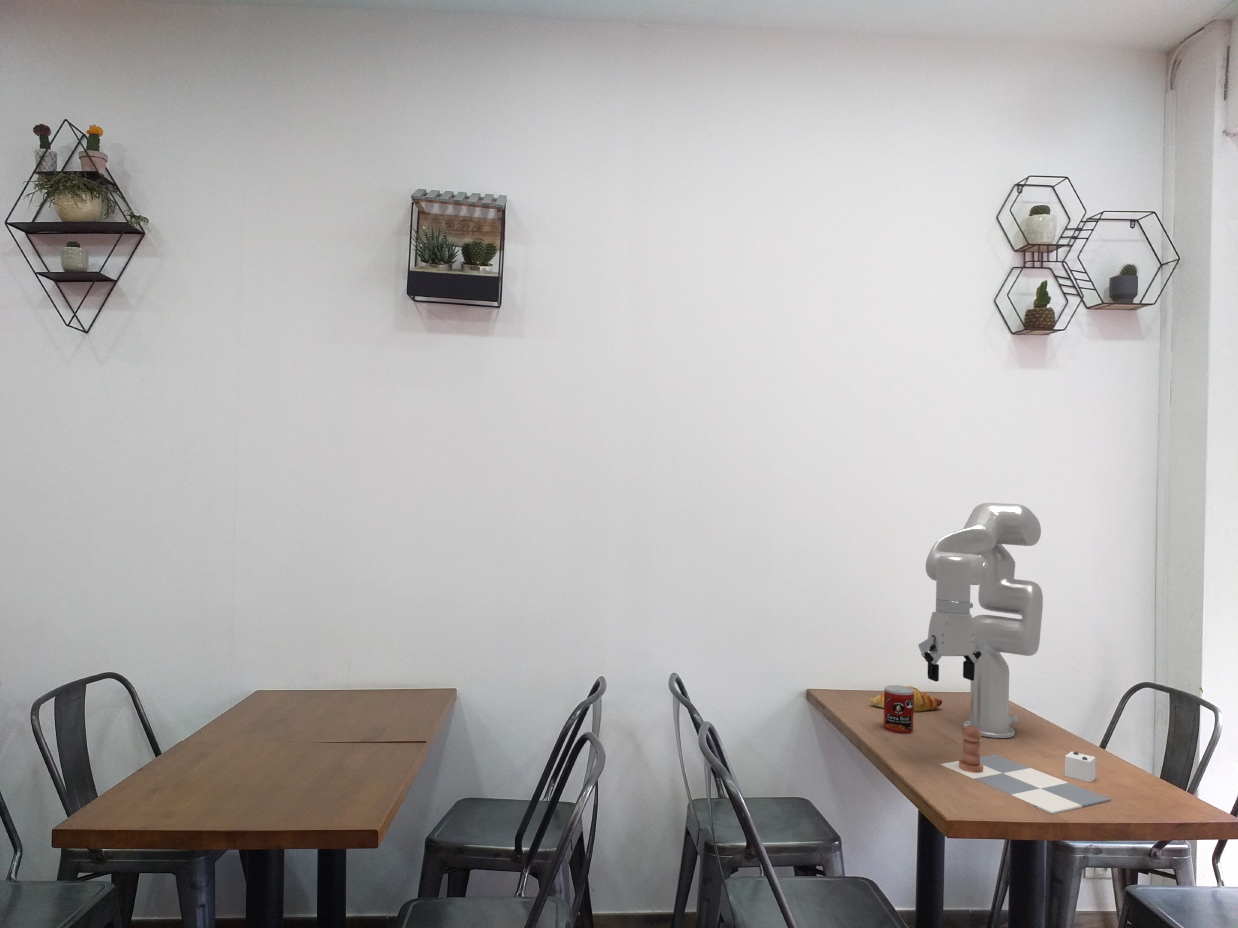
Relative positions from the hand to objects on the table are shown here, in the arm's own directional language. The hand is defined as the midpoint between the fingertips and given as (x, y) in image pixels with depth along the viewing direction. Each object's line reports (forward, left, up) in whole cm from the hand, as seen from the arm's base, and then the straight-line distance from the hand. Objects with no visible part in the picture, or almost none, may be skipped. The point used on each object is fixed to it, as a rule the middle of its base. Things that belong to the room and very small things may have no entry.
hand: (950, 679), depth 183 cm
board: (-8, +13, -21) cm, 26 cm away
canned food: (-10, -26, -21) cm, 35 cm away
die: (-24, +16, -21) cm, 35 cm away
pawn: (-3, +4, -20) cm, 21 cm away
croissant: (-28, -41, -21) cm, 54 cm away
